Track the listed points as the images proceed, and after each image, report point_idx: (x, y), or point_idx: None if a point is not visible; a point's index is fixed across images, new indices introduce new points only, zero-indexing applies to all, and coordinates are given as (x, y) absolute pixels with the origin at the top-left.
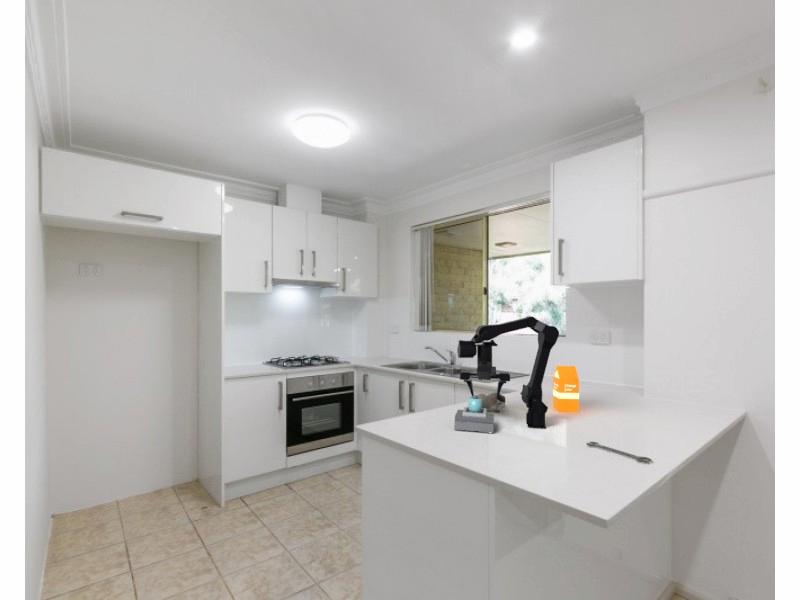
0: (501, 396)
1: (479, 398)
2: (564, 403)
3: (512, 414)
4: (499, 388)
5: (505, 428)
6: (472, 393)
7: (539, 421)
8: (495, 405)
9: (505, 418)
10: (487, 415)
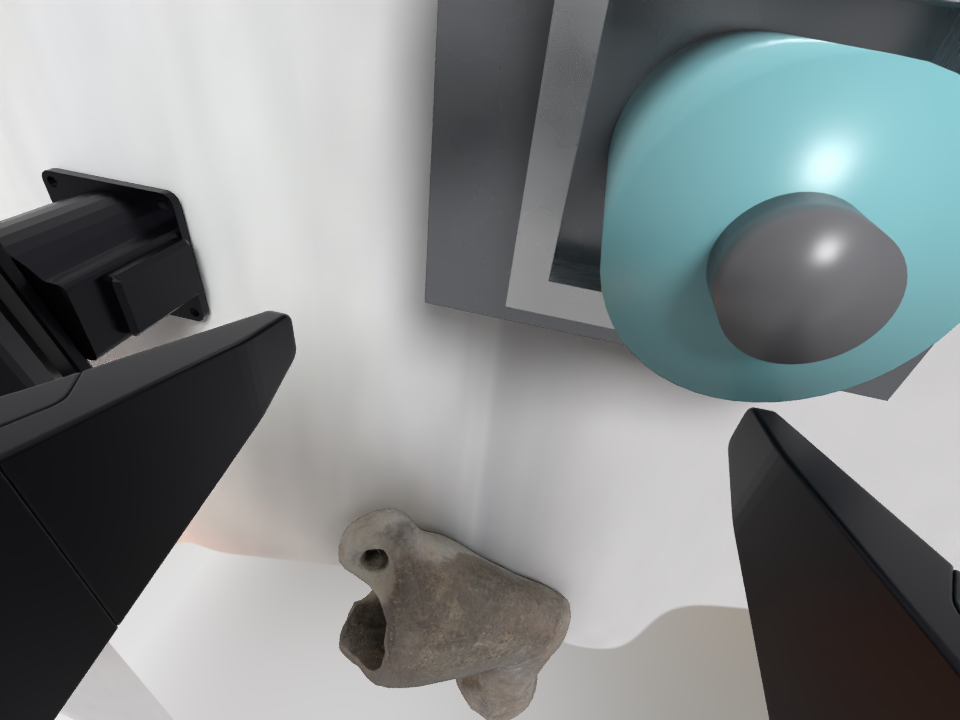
0: (360, 650)
1: (657, 267)
2: None
3: (329, 495)
4: (29, 412)
5: (358, 136)
6: (811, 470)
7: (49, 205)
8: (413, 552)
9: (368, 422)
10: (524, 106)
